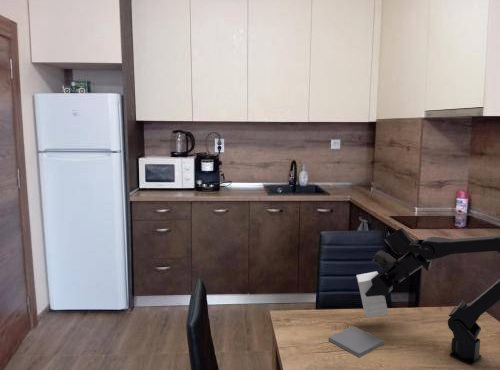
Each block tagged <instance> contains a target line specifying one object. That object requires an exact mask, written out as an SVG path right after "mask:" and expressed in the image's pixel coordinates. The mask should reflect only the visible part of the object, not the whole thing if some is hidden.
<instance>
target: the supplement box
mask: <svg viewBox="0 0 500 370" xmlns="http://www.w3.org/2000/svg"><path fill="white" fill-rule="evenodd" d="M377 274H379V272H378V271H377V270H376V271H371V272H367V273H366V272H365V273H361V274H356V280H357V284H358V285H357V286H358V289H359V294H360V298H361V303H362V308H363V311H364V314H365V316H366V318H367V319H369V318H374V317H375V318H376V317H381V316H382V317H383V316H389V310H388V304H387V301H386V297H385V296H386V295H385V296H382V295H380V296H370V297H367V296H366V295H365V293H366V292H367V291H368V290H369V288H370V287H371V286H372V282H371V279H372V278H373V277H375V276H376V275H377Z"/></svg>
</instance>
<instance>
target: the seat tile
mask: <svg viewBox="0 0 500 370" xmlns="http://www.w3.org/2000/svg"><path fill="white" fill-rule="evenodd" d="M328 342H330V343H333V344H334V345H336V346H338V347H340V348H341V349H343V350H345V351H347V352H348V353H351V354H353V355H354V356H356V357H358V358H361V357H363V356H365V355H366V354H368V353H370V352H373V350H376V349H377V348H380V347H381V346H383V345H384V343H385V340H383V339H382V338H379V337H377V336H375V335H374V334H371V333H369V332H367V331H364V330H362V329H361V328H359V327H356V326H354V325H352V326H350V327H348V328H346V329H344V330H342V331H341V330H340V331H339V332H337V333H334V334H333V335H331V336H328Z"/></svg>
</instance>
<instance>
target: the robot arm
mask: <svg viewBox="0 0 500 370" xmlns="http://www.w3.org/2000/svg"><path fill="white" fill-rule="evenodd" d="M384 241H385V242H386V244H387V245H388V246H389V247H390V248H391V250H392V251H393V252H394V253H395V254H397V255H403V256H402V257H398V258H397V259H395V258H394V257H392V255H390V254H389V253H387V252H385V251H384V250H381V249H380V250H378V251H377V252H376V253H375V255H374V256H373V257H372V260H371V261H372V262H373V263H374V264H376V265H378V266H379V267H381V268H382V271H383V273H384V274H383V273H381V272H380V273H379V272H378V274H377V275H376V276H375V277H373V278H372V279H371V282H372V286H371V287H370V288H369V290H368V291H367V292H366V293H365V295H366V296H367V297H370V296H380V295H382V296H387V295H389V294H390V293H391V291H392V290H393V289H394V288H393V287H394V285H395V286H397V285H399V284H400V283H401V282H402V281H404V280H405V279H407V278H409V277H410V276H411V275H413V274H414V273H415V272H416V271H418V270H419V269H421V268H422V267H423V269H425V270H426V272H427V271H429V270H430V269H432V262H433V260H436V259H440V258H444V257H447V256H450V255H458V254H470V253H486V252H498V253H499V254H500V234H496V235H489V236H478V237H477V236H476V237H465V238H463V237H462V238H454V239H453V238H447V237H439V236H438V237H437V236H429V237H427V238H426V239H422V238H421V239H419V238H417V239H414V240H413V239H412V237H410V236H409V234H408V233H407V232H406V230H405V229H404V228H403V227H400V228H398V229H397V230H396V231H395V232H392V233H391V234H389V235H388V236H387V237H385V239H384ZM407 251H408V252H407ZM406 252H407V253H406ZM404 253H405V254H404ZM499 301H500V278H499V279H498V280H496V281H495V282H494V283H493V284H492V285H491V286H489V287H488V288H487V289H486V290H485V291H483V293H481V294H480V295H479V296H477V297H476V298H475V299H474V300H472V301H470V302H469V303H466V302H465V300H462V301H461V302H460V303H459V304H458V305H457V306H453V309H452V310H451V311H450V313H449V314H448V317H449V318H448V319H447V326H448V329H449V330H450V331H451V332H452V334H453V337H452V338H451V344H450V345H451V348H450V351H451V352H449V356H450V357H453V358H455V359H457V360H459V361H461V362H464V363H466V364H468V365H471V366H472V365H474V364H475V363H477V362H478V361H479V360H481V359H482V358H483V357H482V355H480V348H481V339H480V338H478V337H479V335H480V332H481V331H482V327H481V326H480V325H479V324H478V323H477V321H478V320H479V318H480V317H481V316H482V315H483V314H484V313H486V311H488V310H490V309H491V308H492V307H493V306H495V304H497V303H498V302H499Z"/></svg>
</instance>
